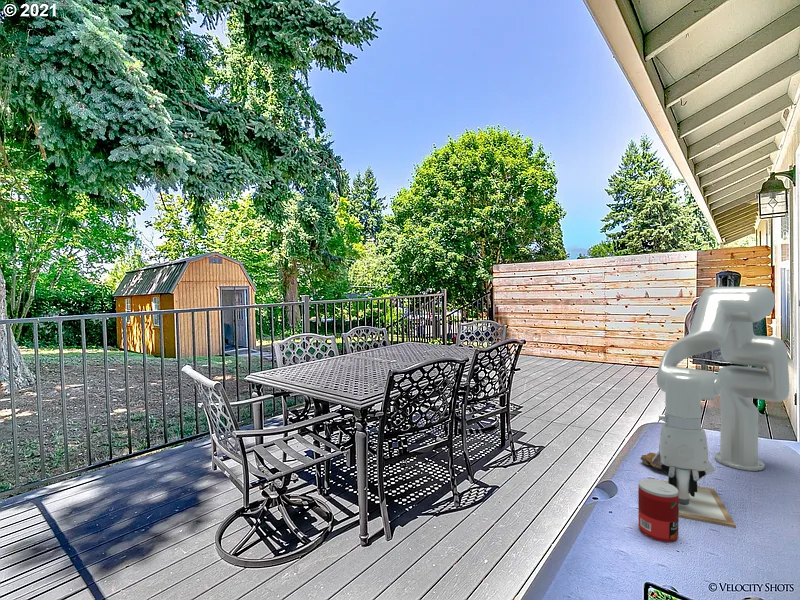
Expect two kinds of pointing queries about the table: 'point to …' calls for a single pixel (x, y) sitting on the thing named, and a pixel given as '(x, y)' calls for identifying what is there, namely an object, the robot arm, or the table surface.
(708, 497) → the clipboard
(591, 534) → the table surface
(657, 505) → the canned food
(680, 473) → the marker
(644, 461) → the decorative rock
